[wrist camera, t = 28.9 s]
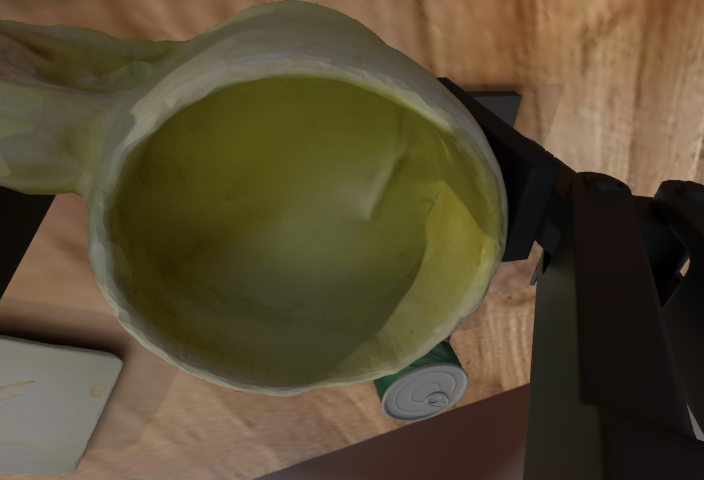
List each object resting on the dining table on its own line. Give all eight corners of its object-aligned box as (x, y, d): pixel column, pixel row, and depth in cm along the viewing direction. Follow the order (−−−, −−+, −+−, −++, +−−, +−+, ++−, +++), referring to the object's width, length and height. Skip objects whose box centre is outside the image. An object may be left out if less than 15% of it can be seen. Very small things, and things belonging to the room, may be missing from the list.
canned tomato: (335, 312, 45) (363, 407, 37) (393, 264, 43) (438, 353, 35) (381, 340, 50) (416, 430, 42) (435, 299, 48) (484, 384, 40)
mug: (528, 108, 16) (623, 347, 8) (333, 243, 21) (289, 459, 14) (252, -245, 11) (-109, -410, 3) (89, 53, 16) (-182, 235, 9)
